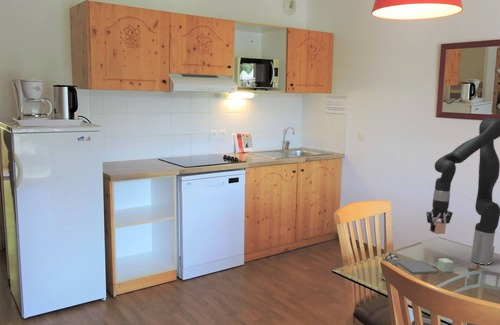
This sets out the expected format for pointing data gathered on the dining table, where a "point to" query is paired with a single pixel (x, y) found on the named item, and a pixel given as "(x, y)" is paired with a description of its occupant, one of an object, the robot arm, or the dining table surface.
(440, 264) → the sage brick
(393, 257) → the food container
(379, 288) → the dining table surface
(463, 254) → the dining table surface
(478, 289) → the dining table surface
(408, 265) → the baseplate
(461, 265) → the dining table surface
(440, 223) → the terracotta brick
